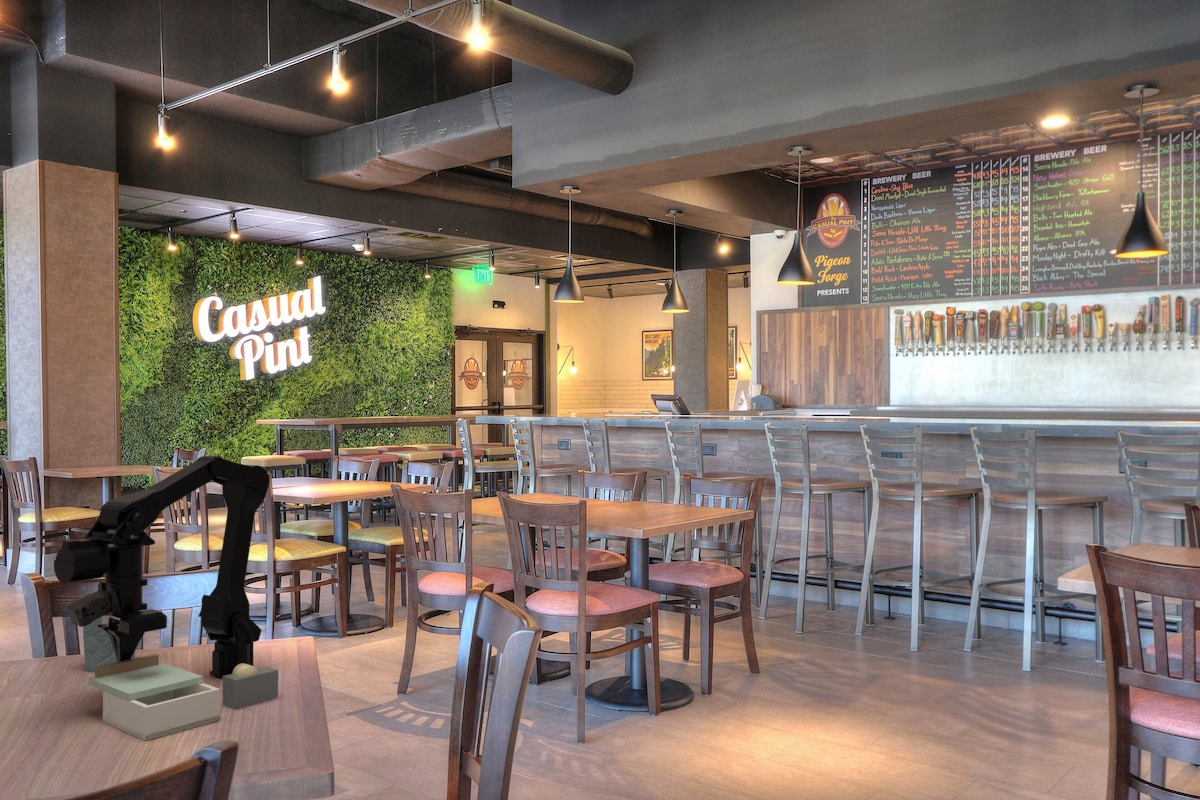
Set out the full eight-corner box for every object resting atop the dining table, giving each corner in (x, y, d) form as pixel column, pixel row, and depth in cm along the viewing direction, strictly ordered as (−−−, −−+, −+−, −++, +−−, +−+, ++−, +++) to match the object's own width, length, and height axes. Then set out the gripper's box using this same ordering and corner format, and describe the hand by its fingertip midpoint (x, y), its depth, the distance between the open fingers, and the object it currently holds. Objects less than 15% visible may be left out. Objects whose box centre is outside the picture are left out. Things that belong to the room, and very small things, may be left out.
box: (175, 703, 158) (176, 673, 158) (220, 720, 149) (220, 688, 149) (102, 721, 149) (103, 690, 149) (145, 741, 140) (145, 707, 140)
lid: (160, 668, 161) (160, 653, 161) (203, 682, 153) (203, 666, 153) (88, 684, 152) (88, 668, 152) (129, 700, 143) (129, 683, 143)
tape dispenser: (264, 694, 164) (265, 656, 164) (278, 698, 161) (278, 660, 161) (222, 705, 157) (222, 666, 157) (235, 710, 155) (235, 670, 155)
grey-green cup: (79, 675, 175) (80, 611, 175) (81, 662, 184) (81, 602, 184) (139, 668, 179) (140, 606, 179) (138, 656, 188) (138, 597, 188)
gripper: (49, 574, 157) (48, 667, 157) (98, 587, 145) (97, 687, 145) (117, 566, 166) (116, 653, 165) (168, 577, 154) (168, 672, 154)
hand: (123, 666), depth 157 cm, fingers closed
